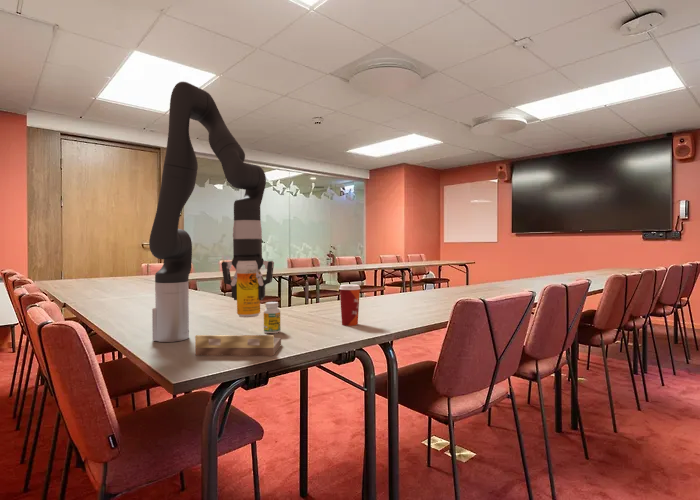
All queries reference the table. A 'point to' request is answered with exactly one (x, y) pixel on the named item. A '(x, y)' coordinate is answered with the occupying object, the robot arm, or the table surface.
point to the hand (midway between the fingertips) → (248, 299)
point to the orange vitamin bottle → (247, 289)
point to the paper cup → (349, 304)
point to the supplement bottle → (272, 318)
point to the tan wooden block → (236, 345)
